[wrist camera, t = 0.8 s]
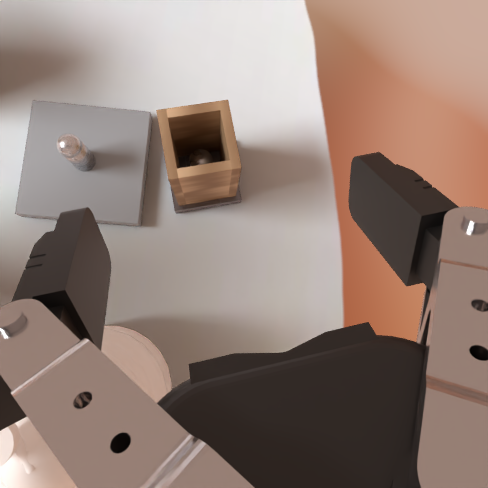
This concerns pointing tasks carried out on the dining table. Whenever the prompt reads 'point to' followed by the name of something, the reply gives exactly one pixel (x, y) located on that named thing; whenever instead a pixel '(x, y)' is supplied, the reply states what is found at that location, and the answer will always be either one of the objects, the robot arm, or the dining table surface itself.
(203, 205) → the grey-brown square knobbed lid
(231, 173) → the oak collar
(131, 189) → the hub plate
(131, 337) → the honey pot
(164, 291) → the dining table surface
